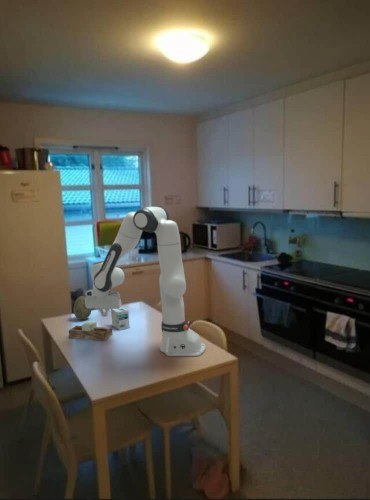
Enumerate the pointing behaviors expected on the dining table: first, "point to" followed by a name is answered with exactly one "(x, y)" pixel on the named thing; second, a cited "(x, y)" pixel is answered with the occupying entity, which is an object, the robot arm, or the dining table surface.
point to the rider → (89, 326)
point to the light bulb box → (120, 318)
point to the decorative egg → (81, 308)
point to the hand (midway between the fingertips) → (104, 316)
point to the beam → (91, 333)
